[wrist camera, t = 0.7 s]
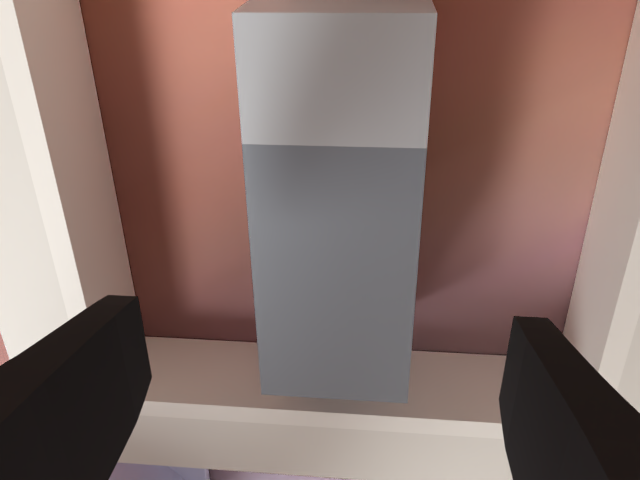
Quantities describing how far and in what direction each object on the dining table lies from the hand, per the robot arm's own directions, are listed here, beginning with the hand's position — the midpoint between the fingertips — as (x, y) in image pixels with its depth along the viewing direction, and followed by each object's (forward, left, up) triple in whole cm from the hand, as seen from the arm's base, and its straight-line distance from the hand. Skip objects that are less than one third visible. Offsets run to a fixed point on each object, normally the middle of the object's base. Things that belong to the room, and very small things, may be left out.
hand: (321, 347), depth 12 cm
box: (0, 0, -9) cm, 9 cm away
